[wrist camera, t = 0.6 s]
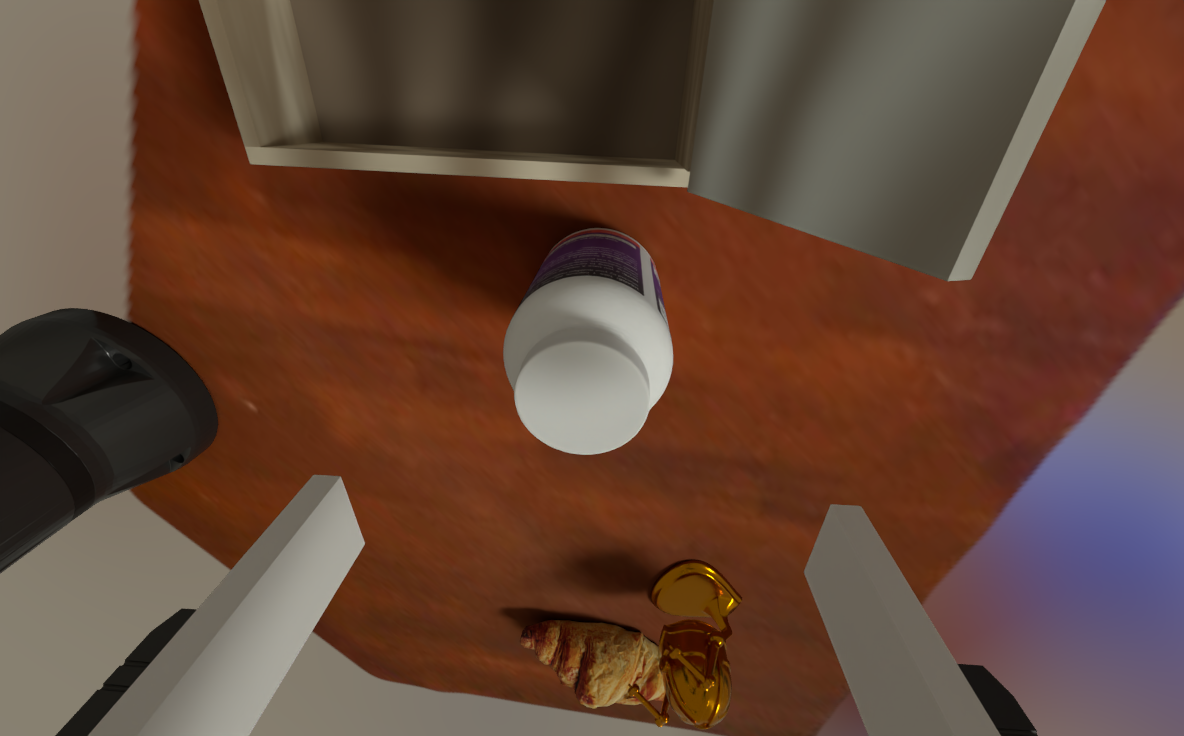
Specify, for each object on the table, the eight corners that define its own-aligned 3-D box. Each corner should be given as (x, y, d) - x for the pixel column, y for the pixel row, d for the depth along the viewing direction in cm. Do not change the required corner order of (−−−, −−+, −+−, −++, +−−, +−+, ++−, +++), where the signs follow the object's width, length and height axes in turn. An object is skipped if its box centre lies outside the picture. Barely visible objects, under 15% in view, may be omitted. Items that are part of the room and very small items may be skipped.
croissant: (693, 630, 55) (722, 680, 47) (660, 702, 55) (683, 764, 48) (537, 577, 51) (541, 621, 44) (502, 654, 52) (499, 713, 44)
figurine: (665, 546, 43) (677, 684, 32) (759, 583, 44) (799, 725, 34) (625, 593, 47) (624, 729, 36) (712, 625, 48) (735, 764, 38)
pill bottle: (517, 283, 31) (440, 397, 18) (599, 196, 27) (574, 262, 15) (600, 358, 33) (582, 504, 21) (684, 286, 30) (723, 407, 17)
